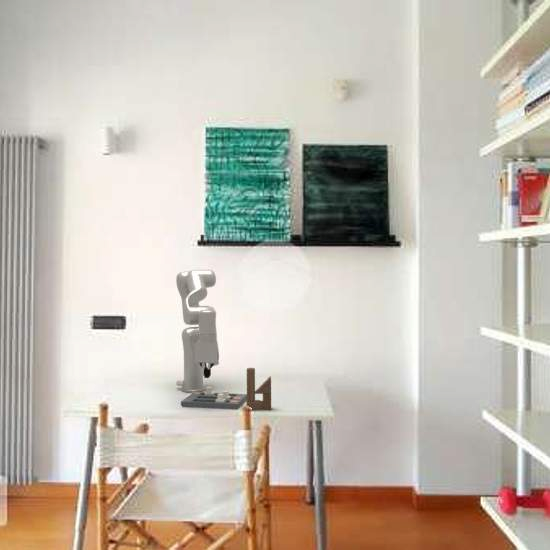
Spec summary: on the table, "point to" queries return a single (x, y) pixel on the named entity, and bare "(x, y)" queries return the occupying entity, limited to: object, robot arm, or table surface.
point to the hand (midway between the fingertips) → (207, 377)
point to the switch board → (213, 401)
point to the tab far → (209, 391)
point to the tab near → (220, 398)
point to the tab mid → (226, 394)
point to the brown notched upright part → (258, 392)
